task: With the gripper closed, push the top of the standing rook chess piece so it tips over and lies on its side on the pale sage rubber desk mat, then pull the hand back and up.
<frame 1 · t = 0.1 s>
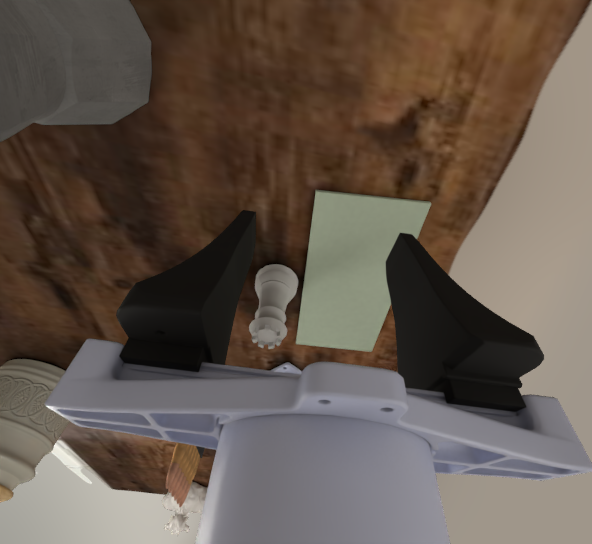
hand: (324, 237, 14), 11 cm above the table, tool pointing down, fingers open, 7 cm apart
jar: (48, 379, 46), on the table
rook chess piece: (277, 277, 30), on the table
ammunition clip: (201, 412, 50), on the table
coffeepot: (79, 22, 18), on the table
bust: (191, 481, 74), on the table
mat: (349, 285, 30), on the table
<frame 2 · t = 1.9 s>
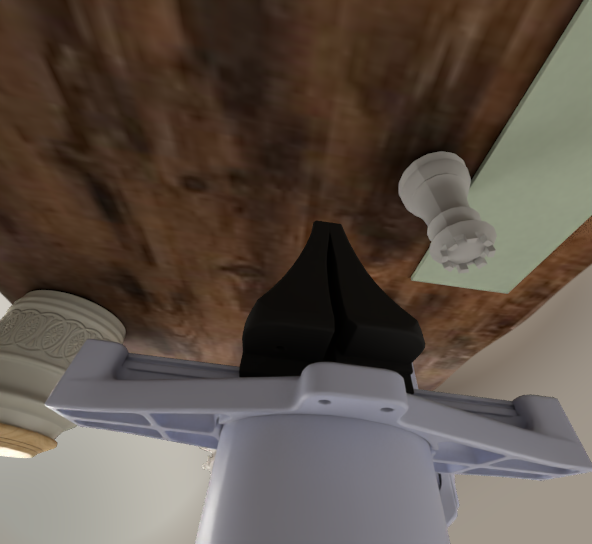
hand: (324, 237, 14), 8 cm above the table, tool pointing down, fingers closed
jar: (79, 316, 38), on the table
rook chess piece: (429, 178, 20), on the table
bust: (225, 424, 72), on the table
mat: (532, 194, 20), on the table
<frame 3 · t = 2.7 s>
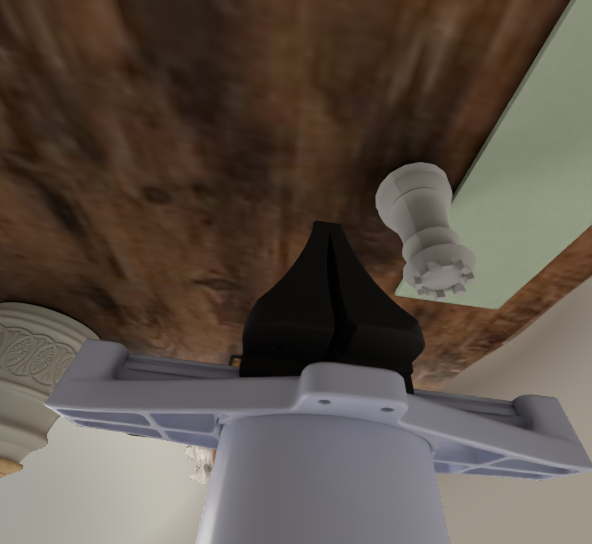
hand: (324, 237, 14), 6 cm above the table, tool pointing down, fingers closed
jar: (52, 328, 37), on the table
rook chess piece: (408, 190, 19), on the table
bust: (214, 432, 70), on the table
mat: (521, 208, 19), on the table
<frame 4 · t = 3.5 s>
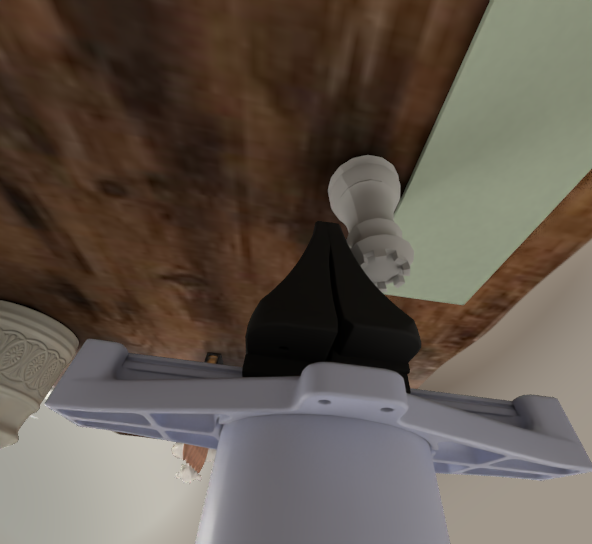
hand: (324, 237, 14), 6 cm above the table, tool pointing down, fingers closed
jar: (28, 325, 37), on the table
rook chess piece: (361, 183, 19), on the table, touching gripper
ammunition clip: (219, 368, 42), on the table
bust: (201, 431, 70), on the table
mat: (474, 202, 19), on the table
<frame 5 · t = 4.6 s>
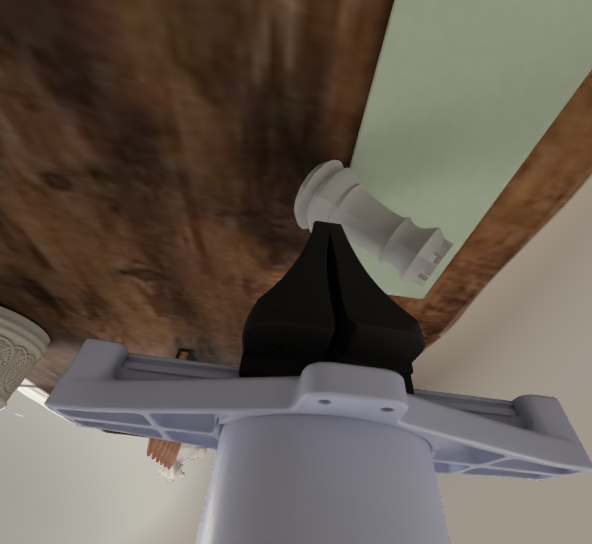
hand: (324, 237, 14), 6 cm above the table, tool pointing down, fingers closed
rook chess piece: (312, 191, 17), point 2 cm above the table
ammunition clip: (193, 365, 42), on the table
bust: (186, 429, 70), on the table
mat: (417, 192, 18), on the table
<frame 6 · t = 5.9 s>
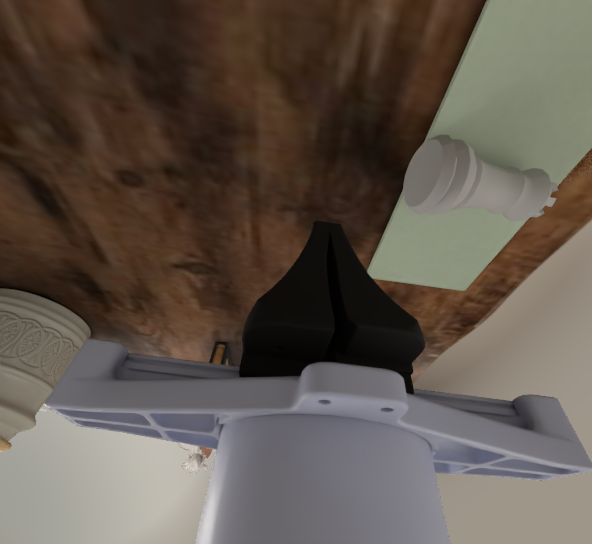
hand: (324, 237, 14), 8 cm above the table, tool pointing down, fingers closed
jar: (42, 315, 38), on the table
rook chess piece: (417, 173, 16), point 3 cm above the table, touching mat
ammunition clip: (226, 358, 43), on the table
bust: (207, 423, 71), on the table
mat: (474, 188, 20), on the table
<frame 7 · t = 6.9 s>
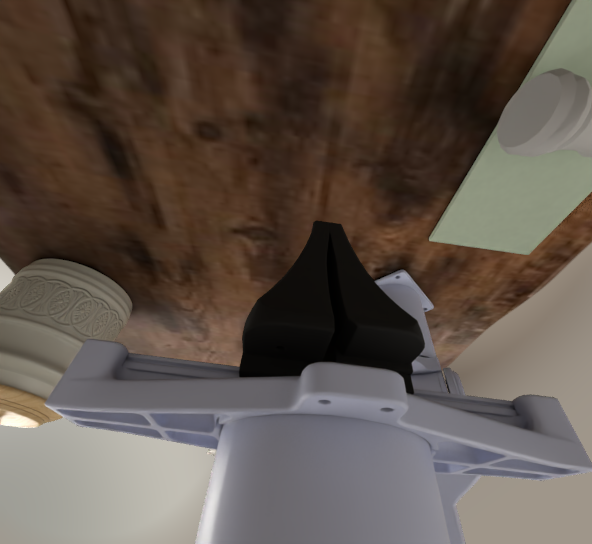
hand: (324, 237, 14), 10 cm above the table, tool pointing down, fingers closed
jar: (84, 289, 38), on the table
rook chess piece: (522, 111, 16), point 3 cm above the table, touching mat
mat: (562, 138, 20), on the table
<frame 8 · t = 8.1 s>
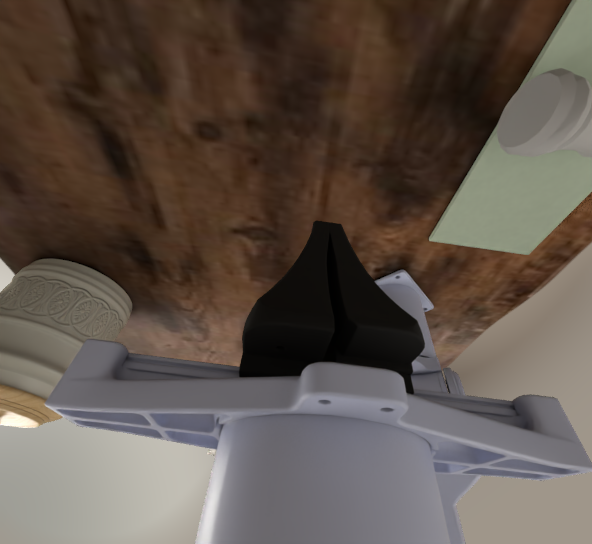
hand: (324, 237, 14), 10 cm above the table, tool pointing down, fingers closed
jar: (84, 289, 38), on the table
rook chess piece: (522, 111, 16), point 3 cm above the table, touching mat
mat: (562, 138, 20), on the table
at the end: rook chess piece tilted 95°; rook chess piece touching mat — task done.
